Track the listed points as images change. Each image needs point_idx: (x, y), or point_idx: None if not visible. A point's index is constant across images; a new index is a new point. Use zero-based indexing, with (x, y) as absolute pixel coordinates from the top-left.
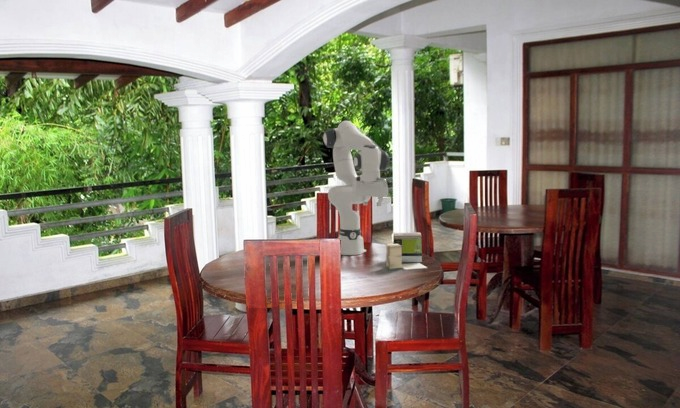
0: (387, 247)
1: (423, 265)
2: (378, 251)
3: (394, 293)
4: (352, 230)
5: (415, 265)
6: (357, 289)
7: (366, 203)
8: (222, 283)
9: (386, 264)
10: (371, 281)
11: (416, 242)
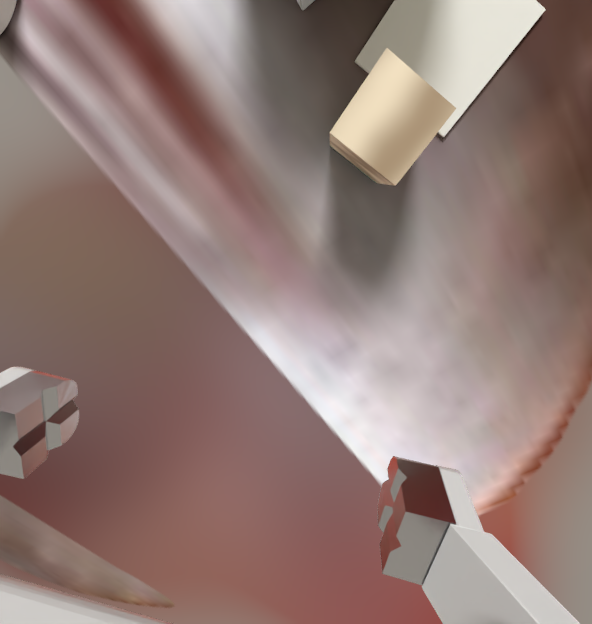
0: (348, 149)
1: None
2: None
3: (550, 454)
4: None
5: (458, 10)
6: None
7: (46, 419)
8: (78, 575)
9: (331, 146)
10: (404, 380)
11: None
